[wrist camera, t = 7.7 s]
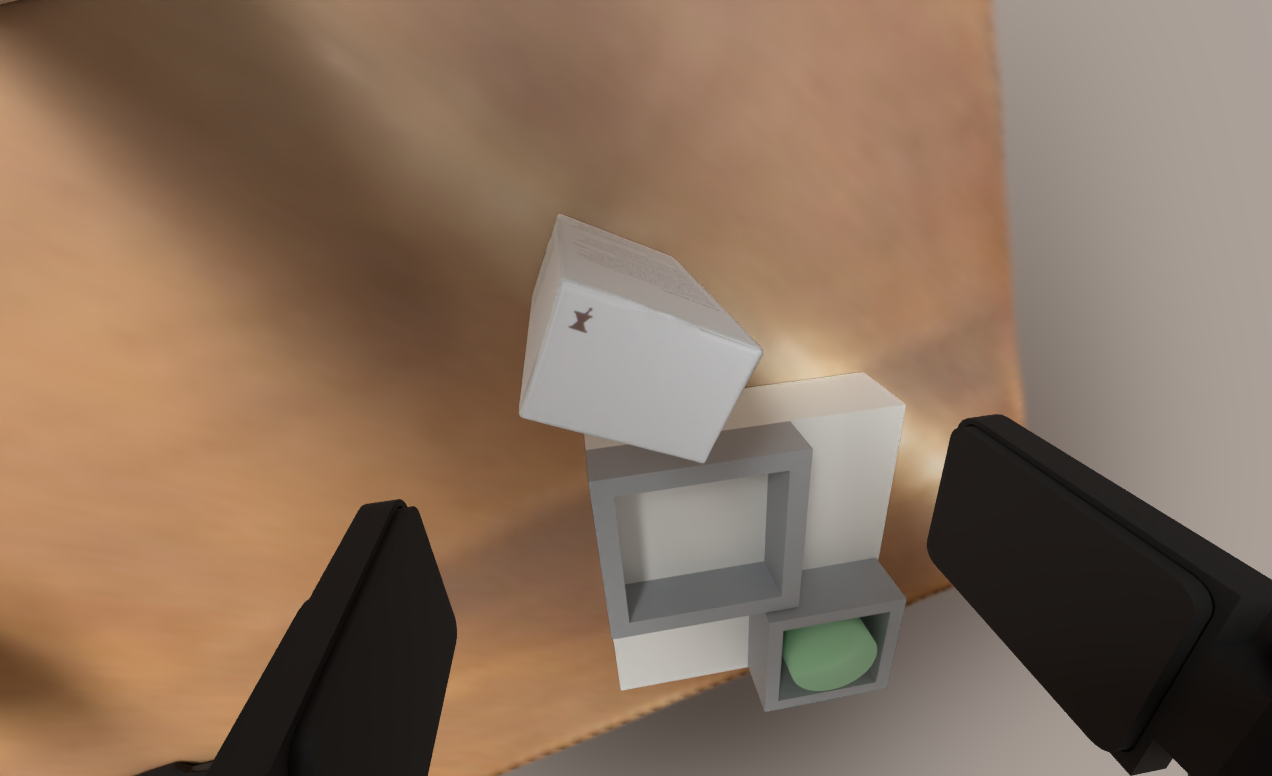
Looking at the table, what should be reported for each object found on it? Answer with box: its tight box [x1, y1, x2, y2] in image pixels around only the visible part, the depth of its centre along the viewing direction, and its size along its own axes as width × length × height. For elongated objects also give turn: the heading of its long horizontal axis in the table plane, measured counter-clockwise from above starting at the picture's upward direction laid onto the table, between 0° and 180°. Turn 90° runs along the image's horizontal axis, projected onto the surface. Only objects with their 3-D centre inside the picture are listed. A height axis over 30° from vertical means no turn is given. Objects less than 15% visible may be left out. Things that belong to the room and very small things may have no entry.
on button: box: [782, 617, 877, 691], centre depth 30 cm, size 5×5×3 cm
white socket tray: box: [584, 372, 907, 712], centre depth 29 cm, size 18×16×7 cm
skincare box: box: [519, 214, 763, 463], centre depth 19 cm, size 6×4×12 cm
